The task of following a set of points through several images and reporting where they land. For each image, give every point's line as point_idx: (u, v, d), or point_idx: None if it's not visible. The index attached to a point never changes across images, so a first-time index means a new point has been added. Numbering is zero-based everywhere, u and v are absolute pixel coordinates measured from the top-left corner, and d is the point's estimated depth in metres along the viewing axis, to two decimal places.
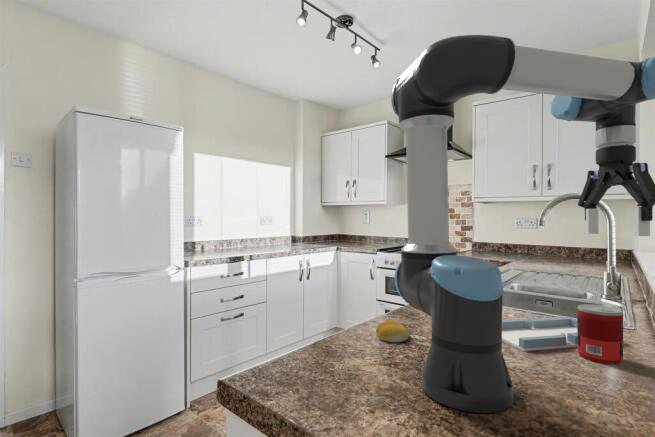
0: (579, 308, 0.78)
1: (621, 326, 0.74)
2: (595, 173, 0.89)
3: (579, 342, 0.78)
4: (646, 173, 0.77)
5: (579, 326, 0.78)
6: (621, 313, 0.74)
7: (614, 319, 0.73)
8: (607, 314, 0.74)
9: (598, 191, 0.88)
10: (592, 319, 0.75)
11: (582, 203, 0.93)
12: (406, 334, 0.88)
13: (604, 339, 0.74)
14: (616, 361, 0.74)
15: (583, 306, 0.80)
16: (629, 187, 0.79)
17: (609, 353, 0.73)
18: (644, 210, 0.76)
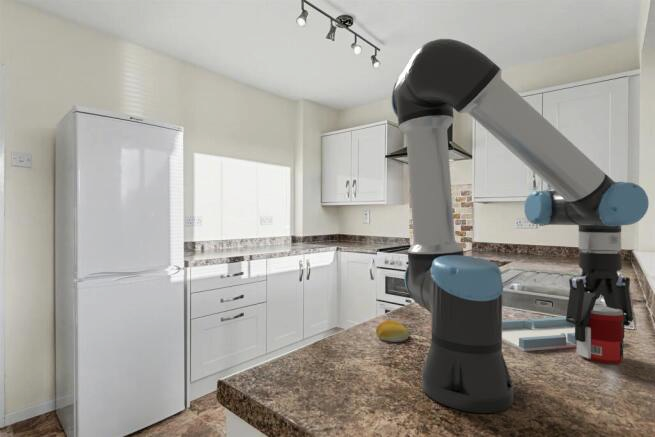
0: None
1: (621, 326, 0.74)
2: None
3: None
4: (577, 291, 0.75)
5: None
6: (621, 313, 0.74)
7: (614, 319, 0.73)
8: (607, 314, 0.74)
9: (605, 300, 0.79)
10: (592, 319, 0.75)
11: None
12: (406, 334, 0.88)
13: (605, 339, 0.74)
14: (616, 361, 0.73)
15: None
16: None
17: (609, 352, 0.73)
18: None
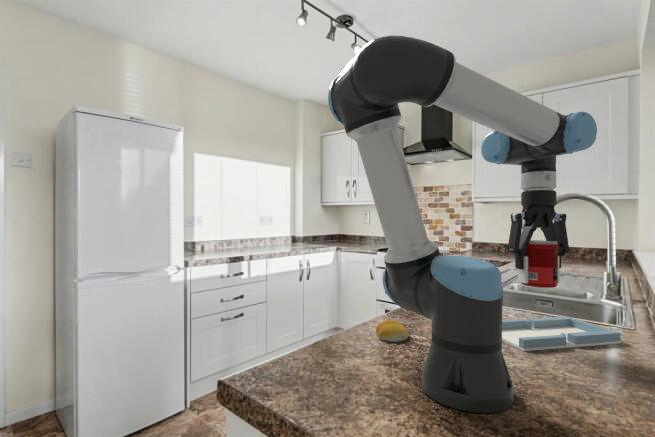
0: None
1: (555, 254, 0.83)
2: None
3: None
4: (516, 224, 0.85)
5: None
6: (555, 242, 0.83)
7: (548, 247, 0.83)
8: (542, 243, 0.83)
9: (545, 234, 0.88)
10: (529, 249, 0.85)
11: None
12: (406, 334, 0.88)
13: (539, 265, 0.83)
14: (550, 285, 0.83)
15: None
16: None
17: (543, 277, 0.83)
18: None
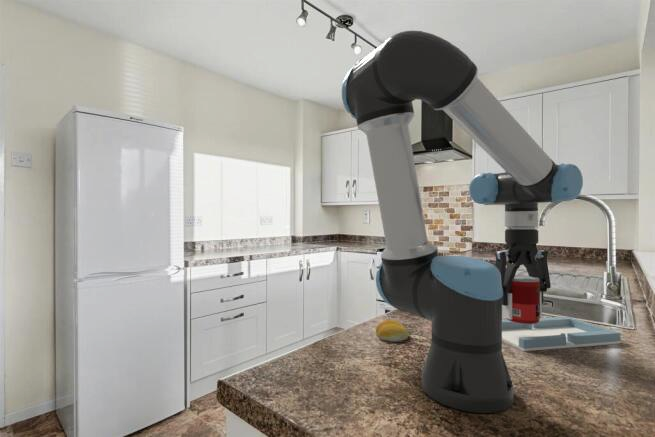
0: None
1: (537, 291, 0.86)
2: None
3: None
4: (500, 262, 0.88)
5: None
6: (537, 280, 0.86)
7: (530, 285, 0.86)
8: (525, 281, 0.86)
9: (527, 270, 0.91)
10: (513, 286, 0.87)
11: None
12: (406, 333, 0.88)
13: (523, 302, 0.86)
14: (532, 321, 0.86)
15: None
16: None
17: (527, 314, 0.86)
18: None
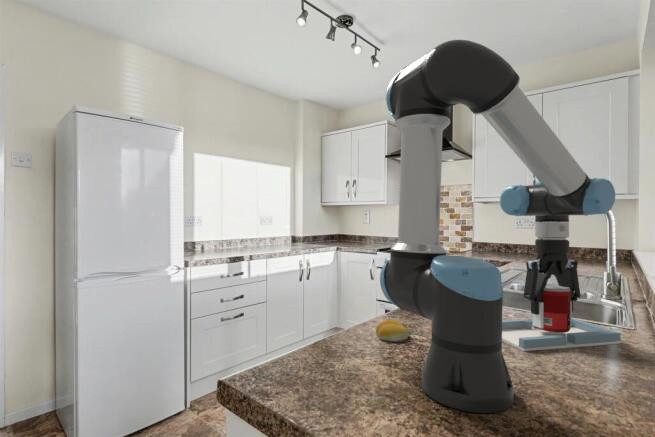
0: None
1: (568, 300, 0.88)
2: None
3: None
4: (532, 272, 0.89)
5: None
6: (568, 290, 0.88)
7: (562, 294, 0.87)
8: (556, 290, 0.88)
9: (557, 279, 0.93)
10: (544, 295, 0.89)
11: None
12: (406, 333, 0.89)
13: (554, 311, 0.88)
14: (564, 330, 0.88)
15: None
16: None
17: (558, 323, 0.88)
18: None
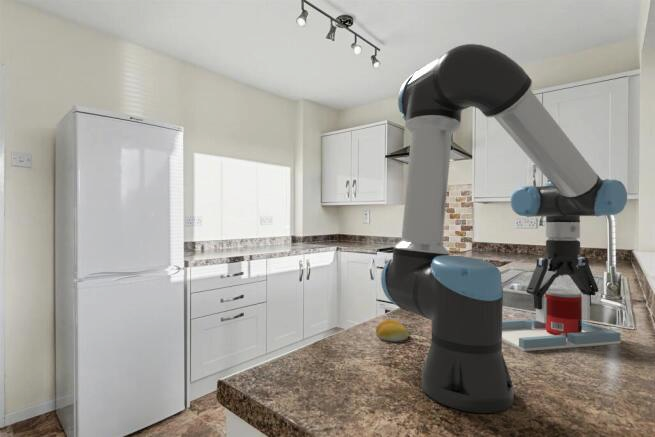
0: (546, 292, 0.93)
1: (579, 306, 0.88)
2: None
3: (546, 320, 0.93)
4: (541, 268, 0.90)
5: (546, 307, 0.93)
6: (579, 295, 0.89)
7: (573, 300, 0.88)
8: (567, 296, 0.88)
9: (572, 278, 0.93)
10: (555, 300, 0.90)
11: None
12: (406, 333, 0.89)
13: (565, 317, 0.88)
14: None
15: (550, 290, 0.94)
16: None
17: (569, 328, 0.88)
18: None
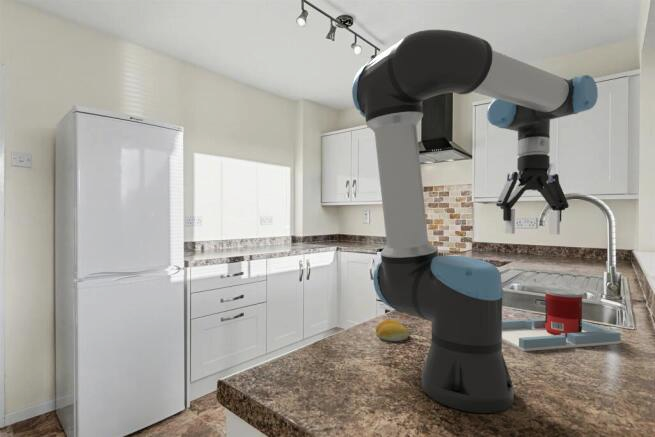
0: (546, 292, 0.93)
1: (580, 306, 0.88)
2: None
3: (546, 320, 0.93)
4: (510, 181, 0.93)
5: (546, 307, 0.93)
6: (580, 295, 0.89)
7: (574, 300, 0.88)
8: (568, 296, 0.88)
9: (543, 194, 0.96)
10: (556, 300, 0.90)
11: None
12: (406, 333, 0.89)
13: (566, 317, 0.88)
14: None
15: (550, 290, 0.94)
16: None
17: (569, 328, 0.88)
18: None
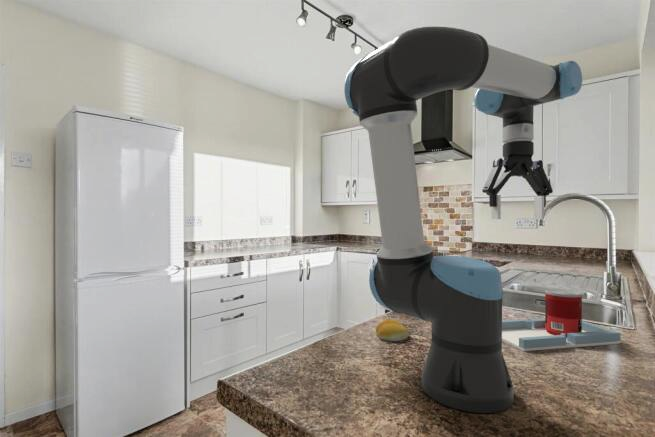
0: (546, 292, 0.93)
1: (579, 306, 0.88)
2: None
3: (546, 320, 0.93)
4: (496, 167, 0.94)
5: (546, 307, 0.93)
6: (579, 295, 0.89)
7: (573, 300, 0.88)
8: (567, 296, 0.88)
9: (527, 180, 0.98)
10: (555, 300, 0.90)
11: None
12: (406, 333, 0.89)
13: (565, 317, 0.88)
14: None
15: (550, 290, 0.94)
16: None
17: (569, 328, 0.88)
18: None
